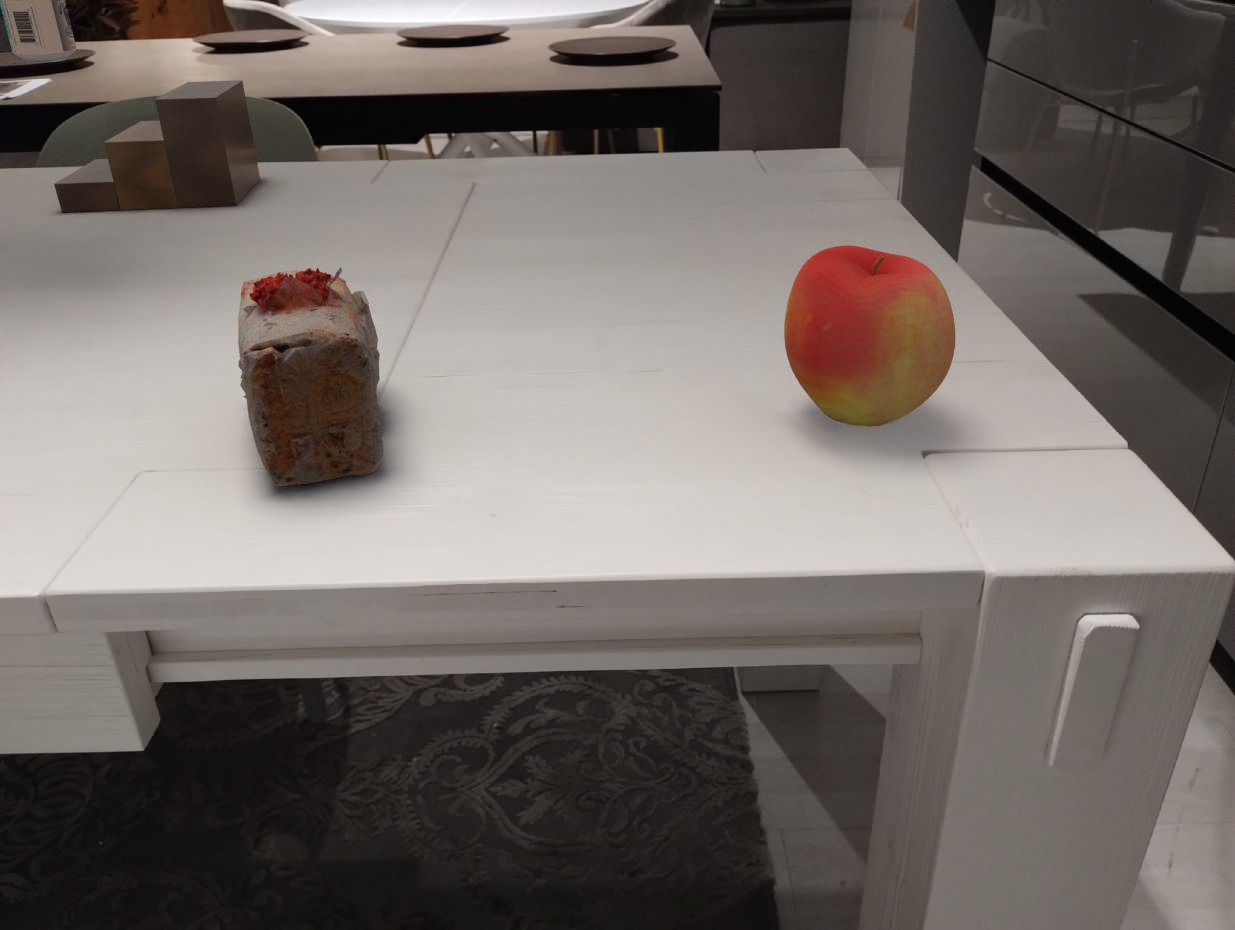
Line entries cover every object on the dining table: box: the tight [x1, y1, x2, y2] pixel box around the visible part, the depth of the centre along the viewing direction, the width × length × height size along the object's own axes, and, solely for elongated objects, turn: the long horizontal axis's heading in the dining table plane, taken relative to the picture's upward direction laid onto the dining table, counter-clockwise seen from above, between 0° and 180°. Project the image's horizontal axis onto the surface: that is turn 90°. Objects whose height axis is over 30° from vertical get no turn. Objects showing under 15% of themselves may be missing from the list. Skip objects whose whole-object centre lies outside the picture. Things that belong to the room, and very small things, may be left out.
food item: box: [237, 267, 384, 487], centre depth 58 cm, size 14×8×10 cm, turn 20°
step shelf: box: [53, 79, 261, 213], centre depth 110 cm, size 18×12×11 cm, turn 95°
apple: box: [783, 244, 956, 428], centre depth 59 cm, size 10×10×10 cm
